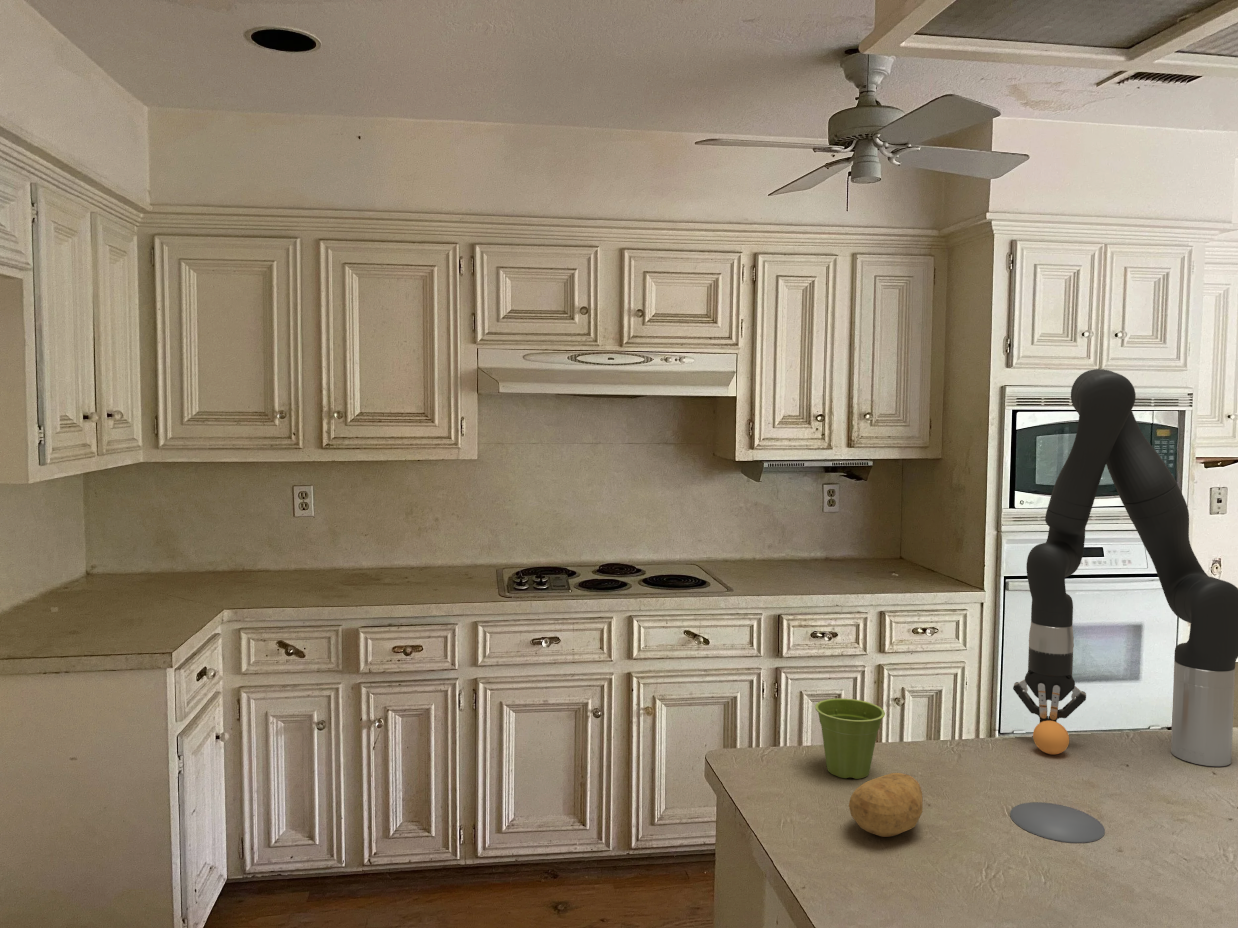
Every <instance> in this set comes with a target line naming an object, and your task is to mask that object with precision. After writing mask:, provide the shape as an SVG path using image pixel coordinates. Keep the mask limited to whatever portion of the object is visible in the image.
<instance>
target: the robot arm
mask: <svg viewBox="0 0 1238 928" xmlns="http://www.w3.org/2000/svg"><path fill="white" fill-rule="evenodd" d="M1136 396H1137V395H1136V389H1135V387H1134V386H1133V383H1132V382H1131V381H1130V380H1129V379H1128V378H1127V377H1126V376H1124V375H1123V374H1120V373H1118V372H1115V371H1111V370H1108V369H1103V368H1102V369H1101V368H1100V369H1099V368H1096V369H1090V370H1086V371H1084V372H1082V374H1080V375H1078V377H1077V378H1076V379H1075V381H1074V382H1073V384H1072V386H1071V390H1070V400H1071V401H1070V402H1071V403H1072V407H1073V408H1074V410H1075V411H1076V413H1077V414H1078V423H1077V429H1076V432H1075V433H1076V434H1075V438H1074V441H1073V444H1072V447H1071V449H1070V453H1069V454H1068V457H1067V459H1066V461H1065V463H1064V464H1063V466H1062V468H1061V470H1060V472H1059V473H1058V476H1057V478H1056V480H1055V482H1054V486H1053V488H1052V491H1051V495H1050V498H1049V502H1048V505H1047V508H1046V512H1045V518H1044V519H1045V523H1046V525H1047V526H1048V527H1049V528H1048V534H1047V539H1046V542H1042V543H1039V544H1037V545H1035V546H1034V547H1032V549H1030V551H1029V553H1028V555H1027V558H1026V566H1025V567H1026V576H1027V581H1028V587H1029V592H1030V596H1031V610H1030V611H1031V612H1030V613H1031V614H1030V617H1031V618H1030V627H1029V633H1028V655H1027V656H1028V657H1027V658H1028V660H1027V661H1028V662H1027V671H1026V672H1027V673H1025V676H1024V679H1022V680H1020V681H1016V682H1015V683H1013V686H1012V689H1013V691H1014V692H1015V693H1016V695H1017V696H1018V698H1019V699H1020V701H1021V702H1022V703H1023V704H1024V706H1025V707H1026V708H1027V710H1028V711H1029V712H1030V714H1034V715H1037V716H1038V717H1039V723H1041V722H1043V721H1055V722H1057V721H1058V719H1067V718H1068V717H1069V716H1070V715H1071V714H1072V713H1073V712H1075V710H1077V708H1079V707H1080V706H1081V705H1082V704H1083V703H1084V702H1085V701H1086V700H1087V692H1085V690H1084V691H1083V690H1080V688H1078V687H1077V686H1076V683H1075V680H1074V678H1073V669H1074V668H1073V664H1074V646H1075V644H1074V642H1075V641H1074V629H1073V625H1074V624H1073V621H1074V620H1073V618H1074V602H1073V597H1071V595H1070V594H1068V593H1067V591H1066V578H1067V577H1069V576H1072V575H1073V574H1074V573H1075V572H1077V570H1078V569H1079V566H1080V565H1081V563H1082V559H1083V556H1084V551H1085V540H1086V527H1087V525H1088V522H1089V520H1090V519H1089V518H1090V515H1091V512H1092V509H1093V506H1094V502H1095V499H1096V496H1097V491H1098V488H1099V485H1100V484H1101V483H1100V482H1101V480H1102V476H1103V473H1104V470H1105V468H1107V470H1108V473H1109V474H1110V478H1111V480H1112V482H1113V485H1114V487H1115V489H1116V492H1117V494H1118V496H1119V499H1120V501H1121V503H1122V505H1123V507H1124V509H1125V511H1126V513H1127V515H1128V517H1129V519H1130V521H1131V523H1132V524H1133V527H1134V528H1135V529H1136V531H1137V534H1138V536H1139V537H1140V540H1141V542H1142V544H1143V546H1144V547H1145V550H1146V551H1147V553H1148V555H1149V558H1150V559H1151V561H1152V563H1153V566H1154V568H1155V572H1156V574H1157V577H1158V580H1159V583H1160V586H1161V589H1162V591H1163V594H1164V597H1165V599H1166V602H1167V604H1168V606H1169V608H1170V610H1171V611H1172V612H1173V614H1174V615H1176V617H1177V618H1179V619H1180V620H1182V621H1184V622H1186V623H1188V624H1190V627H1189V635H1188V640H1187V641H1186V642H1182V643H1178V644H1177V645H1176V646H1175V648H1174V656H1173V659H1174V660H1173V686H1172V688H1173V689H1172V691H1173V693H1172V716H1171V717H1172V718H1171V736H1170V737H1171V743H1170V753H1171V754H1172V755H1173V756H1174V757H1176V758H1178V759H1180V760H1183V761H1185V762H1188V763H1192V764H1196V765H1200V766H1207V767H1226V766H1229V765H1231V763H1232V755H1233V754H1232V753H1233V731H1234V706H1235V686H1236V685H1235V681H1236V678H1235V677H1236V661H1237V660H1238V586H1236V585H1235V584H1233V583H1231V582H1228V581H1225V580H1223V579H1220V578H1216V577H1213V576H1210V575H1208V574H1207V573H1206V572H1205V570H1204V569H1203V567H1202V565H1201V564H1200V562H1199V560H1198V559H1197V556H1196V555H1195V553H1194V551H1193V548H1192V546H1191V542H1190V537H1189V536H1190V513H1189V509H1188V505H1187V502H1186V499H1185V497H1184V495H1183V493H1182V490H1181V488H1180V487H1179V485H1178V483H1177V481H1176V479H1175V477H1174V476H1173V474H1172V472H1171V471H1170V469H1169V468H1168V467H1167V465H1166V463H1165V461H1164V460H1163V459H1162V457H1161V456H1160V455H1159V453H1158V452H1157V451H1156V450H1155V448H1154V447H1153V446H1152V445H1151V443H1150V442H1149V441H1148V439H1147V438H1146V436H1145V435H1144V433H1143V432H1142V430H1141V429H1140V426H1139V424H1138V423H1137V420H1136V417H1135V415H1134V413H1133V408H1134V406H1135V402H1136V398H1137V397H1136ZM1029 689H1030V691H1031V692H1032V693H1033V695H1034V696H1035V698H1037V699H1038V705H1037V703H1036V702H1035V701H1034V700H1033V699H1032V697H1031V696H1030V694H1029V693H1028V691H1029ZM1069 694H1071V695H1070V697H1071V700H1070V701H1069V702H1067V704H1065V705H1064V706H1063V707H1062V708H1061V709H1059V703H1060V702H1062V701H1063V700H1064V699H1065V698H1066V697H1067V696H1068V695H1069ZM1048 701H1050V711H1049V715H1048ZM1057 723H1058V722H1057Z"/></svg>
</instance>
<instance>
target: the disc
mask: <svg viewBox="0 0 1238 928" xmlns="http://www.w3.org/2000/svg"><path fill="white" fill-rule="evenodd" d="M1009 813H1010V814H1009V816H1010V818H1011V820H1012V822H1013V823H1014V824H1015V825H1017V826H1018V827H1020V828H1021V829H1023V830H1024V831H1026V832H1028V833H1030V834H1033V835H1034V836H1038V837H1041V838H1045V839H1047V840H1053V841H1055V842H1061V843H1062V842H1063V843H1068V844H1069V843H1071V844H1082V843H1083V844H1084V843H1085V844H1088V843H1093V842H1096V841H1098V840H1100V839H1102V838H1103V837H1104V836H1105V826H1104V825H1103V824H1102V823H1101V821H1099V820H1098V819H1097V818H1096V817H1094V816H1092V815H1091V814H1088V813H1087V812H1085V811H1082V810H1080V809H1077V808H1074V807H1071V806H1068V805H1067V806H1066V805H1063V804H1059V803H1058V804H1057V803H1051V802H1041V801H1040V802H1039V801H1035V802H1032V801H1031V802H1024V803H1020V804H1016V805H1015V806H1013V807H1012V808H1011V809H1010V812H1009Z"/></svg>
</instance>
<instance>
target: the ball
mask: <svg viewBox="0 0 1238 928" xmlns="http://www.w3.org/2000/svg"><path fill="white" fill-rule="evenodd" d="M1032 737H1033V738H1032V739H1033V741H1034V744H1035V746H1036V747H1038V750H1040V751H1042V752H1043V753H1045V754H1048V755H1059V754H1062V753H1063V752H1064V751H1066V750H1067V748H1068V746H1069V744H1070V735H1069V732H1068V731H1067V729H1066V728H1065V727H1064V726H1063V725H1062V724H1061V723H1059V722H1055V721H1043V722H1041V723H1040V722H1039V723H1038V724H1037V725H1036V726H1035V727H1034V728H1033V734H1032Z"/></svg>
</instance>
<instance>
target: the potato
mask: <svg viewBox="0 0 1238 928" xmlns="http://www.w3.org/2000/svg"><path fill="white" fill-rule="evenodd" d="M921 788H922V787H921V785H920V783H919V781H917V780H916V779H915V778H914V777H913V776H911V775H909V774H905V773H902V772H891V773H888V774H885V775H882V776H878V777H876V778H872V779H870V780H868V781H865V782H864V783H862V784H861V785H860V786H858V787H856V788H855V789H854V791H853V793H851V796H850V799H849V803H848V808H849V812H850V816H851V817H852V818H853V819H854V821H855V822H856V823H857V825H858V826H859V828H860V829H862V830H865V832H867V833H870V834H873V835H876V836H879V837H881V838H882V837H884V838H885V837H888V838H889V837H890V838H891V837H895V836H898V835H900V834H902V833H904V832H907V831H909V830H911V829H913V828H915V827H916V825H917V823H918V822H919V819H920V818H921V816H922V813H923V804H924V803H923V791H922V789H921Z"/></svg>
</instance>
